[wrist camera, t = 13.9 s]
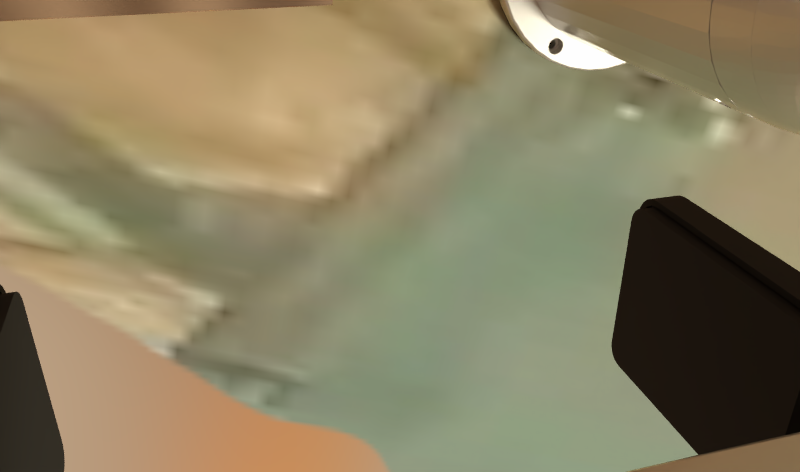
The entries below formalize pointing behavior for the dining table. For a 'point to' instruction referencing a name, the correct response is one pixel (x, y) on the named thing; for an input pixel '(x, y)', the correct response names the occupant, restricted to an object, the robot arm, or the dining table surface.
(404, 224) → the dining table surface
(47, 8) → the panel
